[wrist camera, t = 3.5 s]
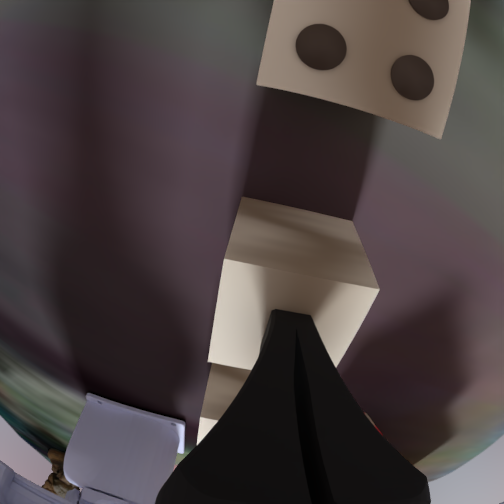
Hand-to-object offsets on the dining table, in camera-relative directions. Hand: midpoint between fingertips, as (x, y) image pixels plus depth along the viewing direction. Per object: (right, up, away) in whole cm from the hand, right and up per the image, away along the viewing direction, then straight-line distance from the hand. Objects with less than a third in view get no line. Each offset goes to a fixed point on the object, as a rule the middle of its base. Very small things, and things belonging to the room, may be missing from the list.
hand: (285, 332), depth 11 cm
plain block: (0, +3, +4) cm, 5 cm away
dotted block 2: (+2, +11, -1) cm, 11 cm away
